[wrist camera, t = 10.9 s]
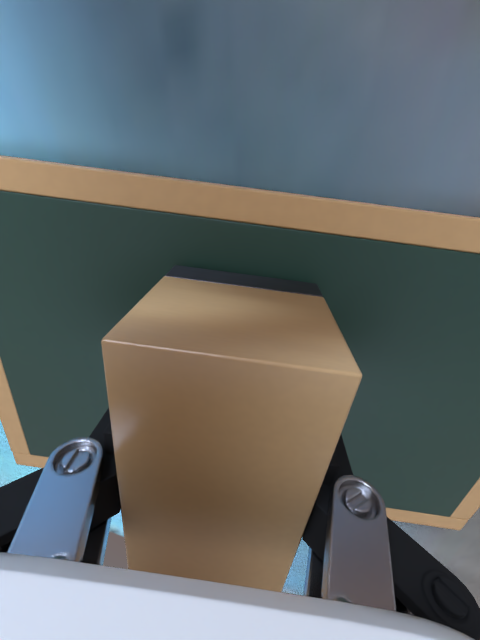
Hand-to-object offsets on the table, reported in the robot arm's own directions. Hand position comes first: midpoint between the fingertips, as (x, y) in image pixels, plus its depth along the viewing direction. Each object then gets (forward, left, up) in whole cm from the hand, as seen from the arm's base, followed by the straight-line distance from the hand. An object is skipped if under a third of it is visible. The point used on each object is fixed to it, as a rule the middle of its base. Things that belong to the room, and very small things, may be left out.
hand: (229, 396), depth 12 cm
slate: (-1, 0, -2) cm, 2 cm away
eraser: (0, 0, 0) cm, 0 cm away
